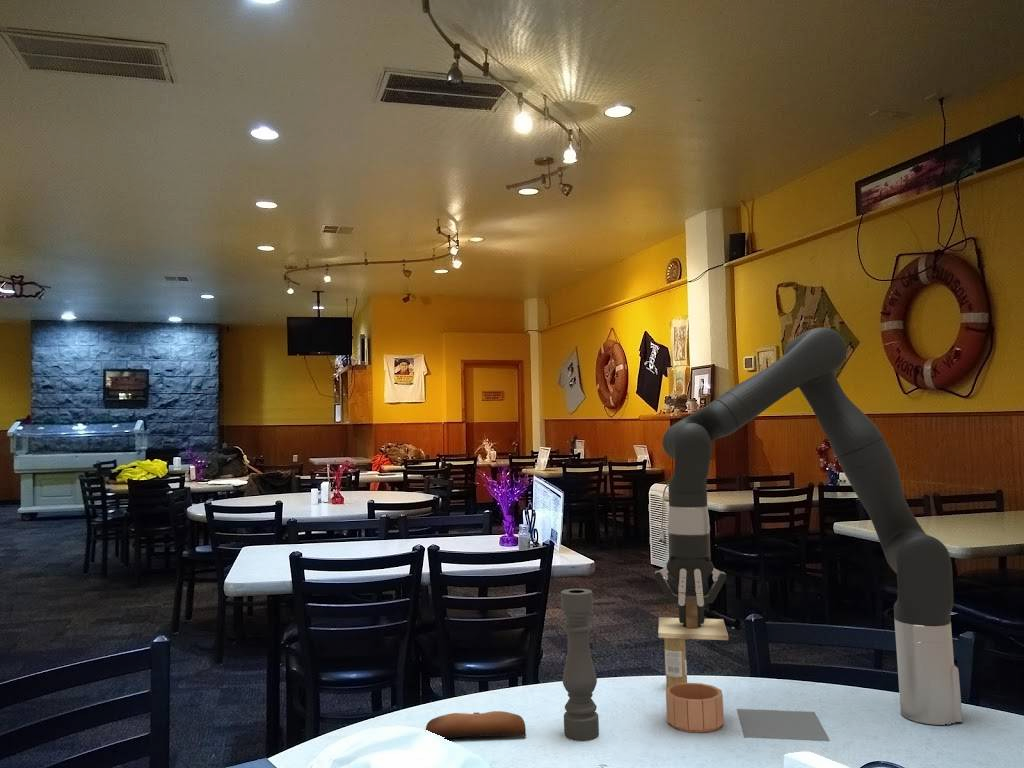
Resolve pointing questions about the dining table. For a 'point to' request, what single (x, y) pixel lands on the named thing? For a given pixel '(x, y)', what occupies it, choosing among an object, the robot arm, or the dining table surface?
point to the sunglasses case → (477, 724)
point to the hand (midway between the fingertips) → (691, 625)
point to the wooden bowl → (694, 707)
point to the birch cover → (692, 625)
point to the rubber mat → (781, 725)
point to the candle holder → (579, 667)
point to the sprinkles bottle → (675, 661)
